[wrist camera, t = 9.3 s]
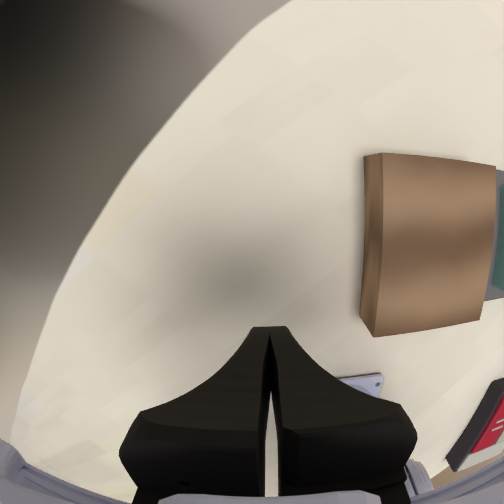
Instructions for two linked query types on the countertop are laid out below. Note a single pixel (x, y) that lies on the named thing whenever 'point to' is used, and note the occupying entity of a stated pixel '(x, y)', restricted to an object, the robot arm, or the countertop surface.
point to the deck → (425, 242)
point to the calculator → (481, 431)
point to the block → (500, 250)
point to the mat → (495, 242)
